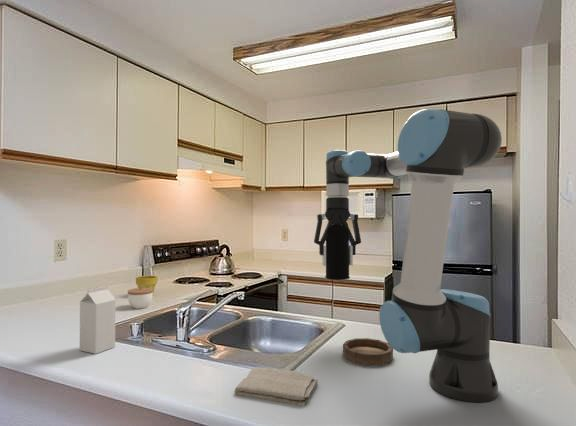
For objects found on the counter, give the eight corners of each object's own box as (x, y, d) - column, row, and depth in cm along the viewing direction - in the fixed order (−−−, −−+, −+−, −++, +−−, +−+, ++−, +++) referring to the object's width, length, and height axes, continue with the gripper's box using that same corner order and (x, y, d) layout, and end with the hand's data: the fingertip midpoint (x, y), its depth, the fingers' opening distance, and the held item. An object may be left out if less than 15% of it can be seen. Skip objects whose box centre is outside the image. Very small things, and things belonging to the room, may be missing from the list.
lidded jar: (146, 303, 179) (146, 283, 179) (157, 307, 172) (157, 286, 172) (123, 307, 172) (123, 286, 172) (133, 311, 164) (134, 289, 164)
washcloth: (307, 408, 83) (307, 394, 83) (232, 397, 88) (232, 384, 88) (319, 385, 94) (319, 373, 94) (252, 376, 100) (252, 364, 100)
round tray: (399, 364, 107) (399, 354, 107) (350, 366, 105) (350, 355, 105) (382, 347, 121) (382, 337, 121) (339, 348, 119) (339, 338, 119)
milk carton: (115, 347, 120) (115, 286, 120) (95, 354, 113) (95, 290, 113) (99, 343, 123) (100, 284, 123) (79, 350, 116) (79, 288, 116)
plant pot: (159, 293, 201) (159, 275, 201) (154, 298, 190) (154, 278, 190) (139, 294, 200) (139, 275, 200) (132, 298, 190) (132, 278, 190)
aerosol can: (334, 280, 122) (334, 218, 122) (320, 277, 129) (320, 218, 129) (354, 278, 126) (354, 218, 126) (340, 275, 133) (340, 218, 133)
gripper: (364, 198, 132) (365, 263, 132) (304, 197, 131) (304, 263, 130) (371, 196, 125) (371, 266, 125) (307, 196, 123) (307, 266, 123)
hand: (337, 265), depth 127 cm, fingers closed on aerosol can, 8 cm apart
